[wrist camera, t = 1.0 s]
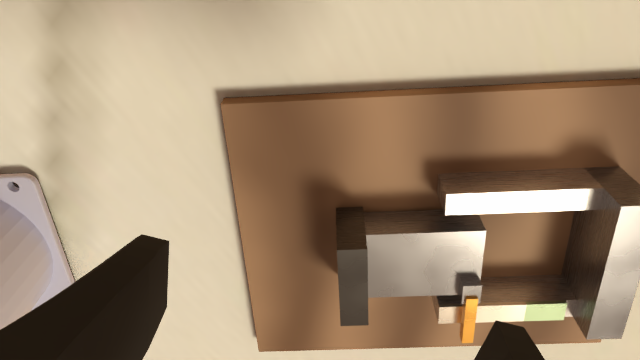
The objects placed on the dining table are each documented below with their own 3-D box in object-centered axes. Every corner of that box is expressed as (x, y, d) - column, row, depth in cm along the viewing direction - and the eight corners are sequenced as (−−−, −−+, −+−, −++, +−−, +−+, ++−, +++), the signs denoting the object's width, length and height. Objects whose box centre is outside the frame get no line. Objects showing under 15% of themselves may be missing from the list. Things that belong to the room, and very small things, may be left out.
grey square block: (340, 307, 26) (341, 357, 23) (335, 207, 23) (336, 250, 20) (465, 303, 25) (482, 354, 22) (476, 202, 23) (497, 244, 20)
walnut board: (260, 340, 28) (258, 351, 27) (224, 97, 21) (220, 104, 21) (593, 331, 27) (600, 342, 27) (662, 77, 21) (673, 83, 20)
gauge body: (430, 294, 25) (443, 343, 23) (438, 173, 22) (454, 212, 19) (588, 289, 25) (621, 338, 22) (619, 166, 22) (662, 205, 19)
